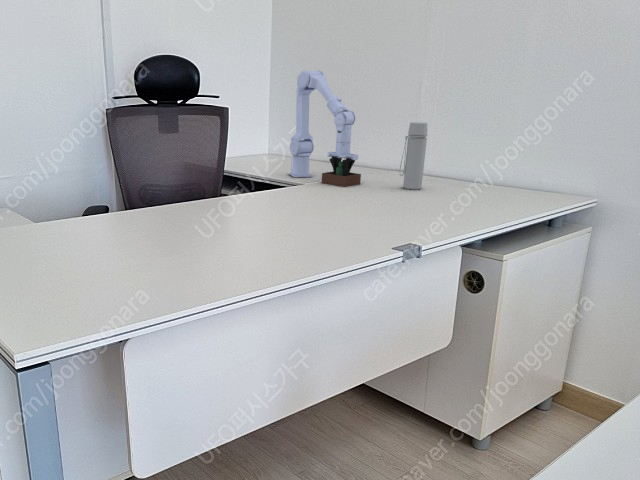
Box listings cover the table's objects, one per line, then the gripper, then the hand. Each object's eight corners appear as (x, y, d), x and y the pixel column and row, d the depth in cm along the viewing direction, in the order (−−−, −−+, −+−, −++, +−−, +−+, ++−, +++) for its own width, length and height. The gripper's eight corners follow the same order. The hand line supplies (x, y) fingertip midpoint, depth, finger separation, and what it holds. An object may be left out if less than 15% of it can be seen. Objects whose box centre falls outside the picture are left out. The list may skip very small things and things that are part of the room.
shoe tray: (321, 182, 247) (322, 173, 245) (337, 180, 253) (338, 170, 252) (344, 186, 238) (344, 176, 237) (360, 184, 244) (361, 174, 243)
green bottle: (333, 180, 247) (334, 161, 244) (344, 180, 248) (345, 161, 245) (337, 182, 243) (338, 162, 240) (348, 182, 244) (349, 162, 241)
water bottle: (419, 187, 238) (426, 122, 229) (423, 190, 231) (430, 123, 222) (396, 186, 239) (402, 122, 230) (399, 190, 232) (405, 123, 223)
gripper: (363, 143, 237) (361, 177, 242) (336, 140, 247) (334, 173, 252) (352, 144, 233) (350, 179, 238) (324, 141, 243) (323, 174, 248)
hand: (341, 176), depth 245 cm, fingers closed on green bottle, 4 cm apart
